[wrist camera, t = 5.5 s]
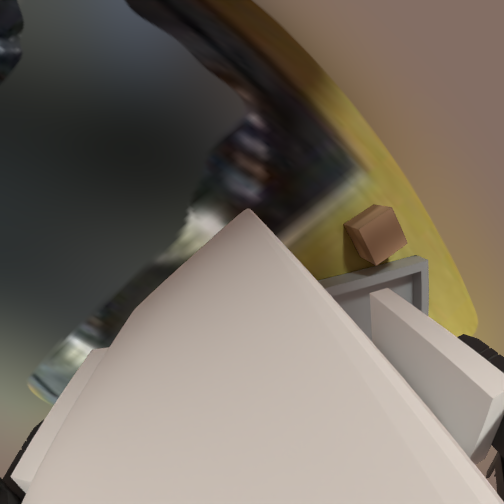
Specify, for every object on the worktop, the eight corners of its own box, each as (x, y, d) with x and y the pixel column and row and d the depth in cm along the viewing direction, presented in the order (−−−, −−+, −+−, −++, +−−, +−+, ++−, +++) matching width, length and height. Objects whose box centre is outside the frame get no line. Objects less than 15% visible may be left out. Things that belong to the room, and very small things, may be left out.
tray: (281, 289, 32) (286, 297, 29) (415, 255, 32) (427, 260, 30) (301, 405, 35) (306, 418, 33) (414, 368, 36) (423, 378, 33)
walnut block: (343, 224, 31) (358, 229, 27) (373, 204, 31) (391, 207, 27) (359, 256, 32) (376, 265, 28) (388, 236, 32) (407, 243, 28)
